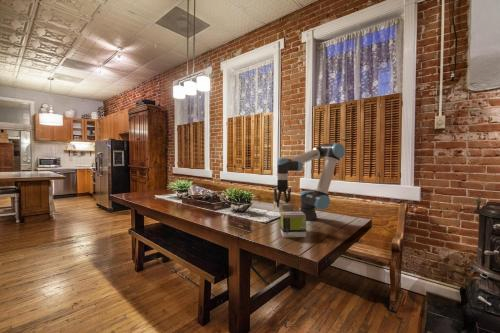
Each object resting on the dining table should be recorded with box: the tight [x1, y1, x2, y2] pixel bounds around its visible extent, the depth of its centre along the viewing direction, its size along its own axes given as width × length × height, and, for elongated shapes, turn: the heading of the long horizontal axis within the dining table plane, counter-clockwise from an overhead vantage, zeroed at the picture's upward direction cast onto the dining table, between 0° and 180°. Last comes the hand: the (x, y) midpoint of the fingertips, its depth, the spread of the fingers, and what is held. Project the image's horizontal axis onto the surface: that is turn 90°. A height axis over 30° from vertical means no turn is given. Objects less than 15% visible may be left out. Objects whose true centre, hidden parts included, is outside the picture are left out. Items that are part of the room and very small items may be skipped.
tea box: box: [280, 211, 307, 238], centre depth 163 cm, size 15×10×15 cm, turn 92°
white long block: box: [273, 199, 294, 214], centre depth 182 cm, size 24×8×7 cm, turn 14°
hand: (281, 211), depth 181 cm, fingers closed on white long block, 4 cm apart
